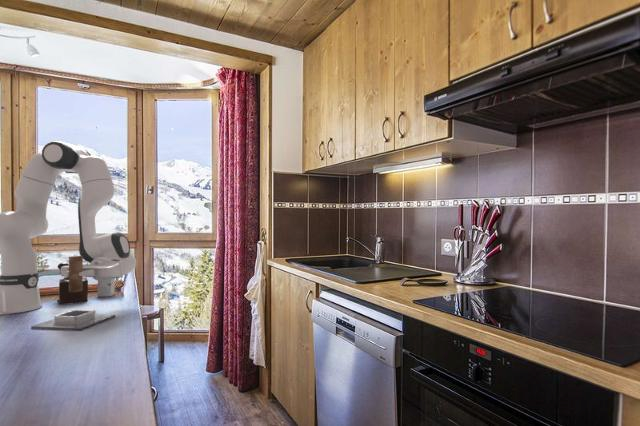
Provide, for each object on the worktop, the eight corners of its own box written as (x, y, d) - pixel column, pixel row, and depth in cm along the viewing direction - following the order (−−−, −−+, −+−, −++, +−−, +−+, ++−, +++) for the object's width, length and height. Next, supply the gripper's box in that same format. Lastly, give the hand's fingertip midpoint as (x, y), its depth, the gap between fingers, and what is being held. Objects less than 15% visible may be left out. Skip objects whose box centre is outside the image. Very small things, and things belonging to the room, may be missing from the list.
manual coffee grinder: (56, 300, 160) (57, 259, 161) (86, 297, 167) (86, 258, 167) (57, 307, 148) (57, 263, 148) (89, 303, 154) (89, 261, 155)
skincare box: (96, 296, 168) (97, 270, 168) (101, 294, 172) (101, 269, 172) (111, 296, 169) (111, 270, 169) (115, 294, 173) (115, 268, 173)
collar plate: (31, 328, 119) (31, 318, 119) (70, 315, 135) (70, 306, 135) (80, 330, 117) (80, 320, 117) (115, 317, 133) (115, 308, 133)
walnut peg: (65, 292, 125) (65, 257, 125) (75, 289, 129) (75, 255, 129) (76, 292, 124) (76, 257, 124) (85, 290, 128) (85, 256, 128)
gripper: (78, 259, 141) (46, 264, 127) (126, 260, 138) (100, 265, 124) (78, 276, 141) (46, 282, 127) (126, 277, 138) (100, 283, 124)
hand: (73, 274), depth 126 cm, fingers closed on walnut peg, 4 cm apart
